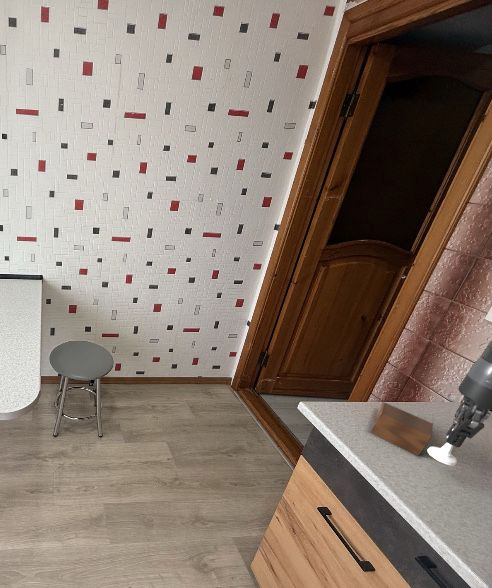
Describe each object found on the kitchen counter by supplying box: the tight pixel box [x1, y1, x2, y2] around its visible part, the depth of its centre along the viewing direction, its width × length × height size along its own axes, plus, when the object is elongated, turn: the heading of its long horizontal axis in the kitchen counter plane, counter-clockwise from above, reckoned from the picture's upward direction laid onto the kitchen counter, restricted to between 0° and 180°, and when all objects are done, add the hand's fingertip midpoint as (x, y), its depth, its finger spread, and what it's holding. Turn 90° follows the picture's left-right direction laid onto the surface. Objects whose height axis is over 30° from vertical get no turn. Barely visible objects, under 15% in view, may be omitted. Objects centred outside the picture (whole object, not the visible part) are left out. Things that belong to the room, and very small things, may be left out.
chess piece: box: [427, 429, 458, 467], centre depth 77 cm, size 5×5×10 cm
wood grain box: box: [369, 401, 434, 457], centre depth 93 cm, size 10×14×7 cm
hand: (452, 441), depth 77 cm, fingers closed on chess piece
